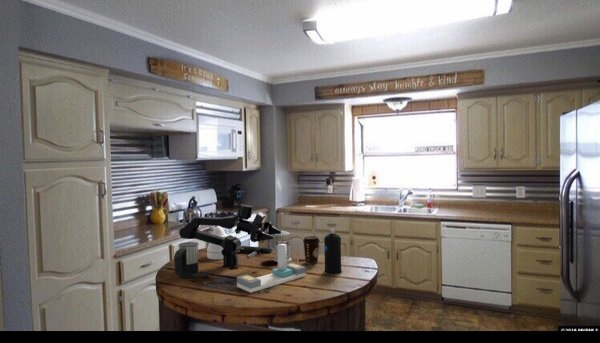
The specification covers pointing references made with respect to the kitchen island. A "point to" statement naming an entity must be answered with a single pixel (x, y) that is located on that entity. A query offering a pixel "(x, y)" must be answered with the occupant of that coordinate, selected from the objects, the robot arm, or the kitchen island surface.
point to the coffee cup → (311, 249)
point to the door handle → (253, 250)
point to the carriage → (282, 262)
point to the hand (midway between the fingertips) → (277, 235)
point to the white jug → (213, 249)
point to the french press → (283, 233)
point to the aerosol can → (332, 253)
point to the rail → (269, 279)
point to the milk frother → (187, 261)
